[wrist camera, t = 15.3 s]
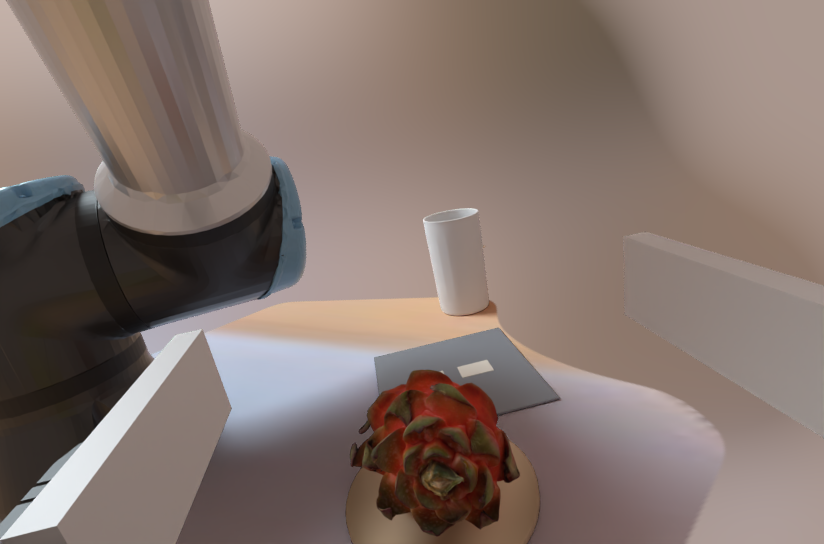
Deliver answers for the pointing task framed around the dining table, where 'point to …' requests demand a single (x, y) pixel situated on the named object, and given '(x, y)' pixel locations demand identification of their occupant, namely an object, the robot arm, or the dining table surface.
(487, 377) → the grey square tile
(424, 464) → the dragon fruit
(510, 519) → the coaster
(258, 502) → the dining table surface
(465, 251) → the mug
